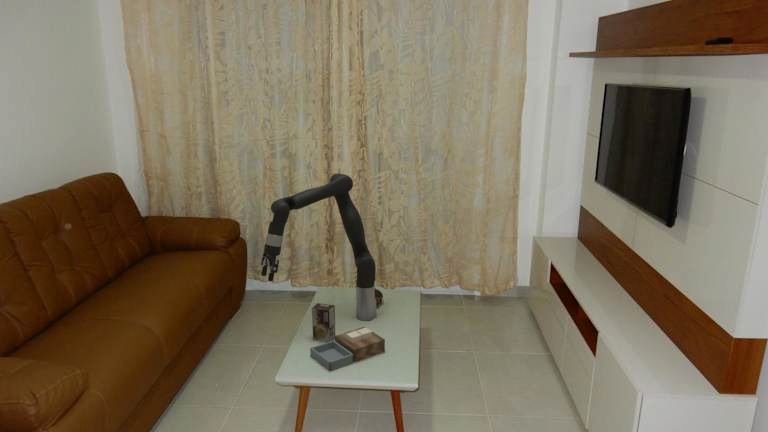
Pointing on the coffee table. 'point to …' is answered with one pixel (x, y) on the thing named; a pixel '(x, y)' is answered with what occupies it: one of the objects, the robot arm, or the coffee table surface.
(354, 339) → the front tile
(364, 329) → the rear tile
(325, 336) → the coffee box
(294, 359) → the coffee table surface
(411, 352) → the coffee table surface
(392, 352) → the coffee table surface
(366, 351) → the block
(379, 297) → the decorative turtle
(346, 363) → the box
